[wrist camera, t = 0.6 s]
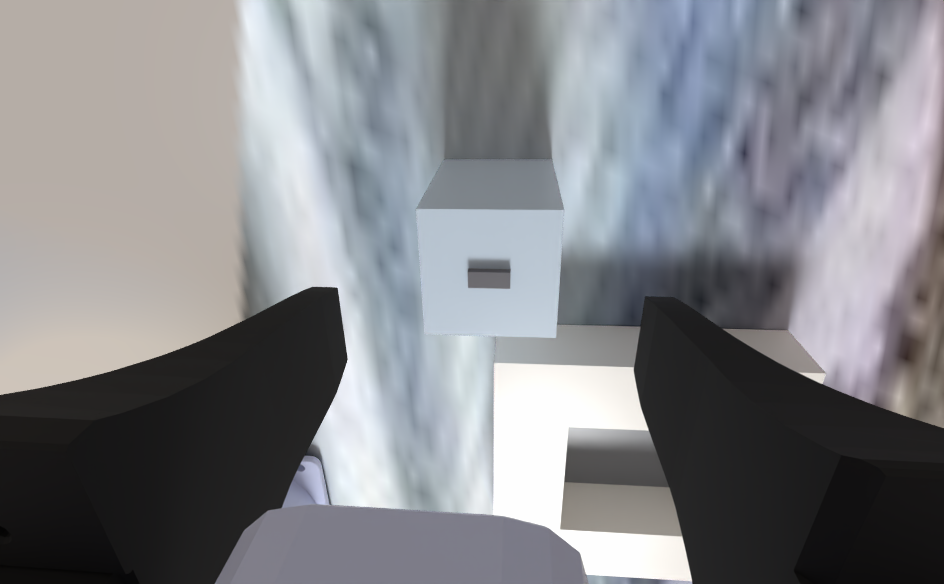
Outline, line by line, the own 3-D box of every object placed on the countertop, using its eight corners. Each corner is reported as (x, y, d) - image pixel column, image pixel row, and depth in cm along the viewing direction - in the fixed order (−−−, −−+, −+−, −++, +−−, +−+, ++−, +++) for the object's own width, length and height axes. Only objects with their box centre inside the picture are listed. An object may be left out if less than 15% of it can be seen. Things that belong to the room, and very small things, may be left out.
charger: (448, 257, 21) (423, 338, 16) (444, 159, 20) (414, 211, 14) (546, 258, 21) (556, 342, 16) (552, 158, 19) (565, 213, 14)
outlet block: (496, 516, 28) (493, 568, 25) (497, 322, 23) (494, 362, 20) (728, 529, 27) (751, 585, 24) (788, 330, 22) (825, 373, 19)
